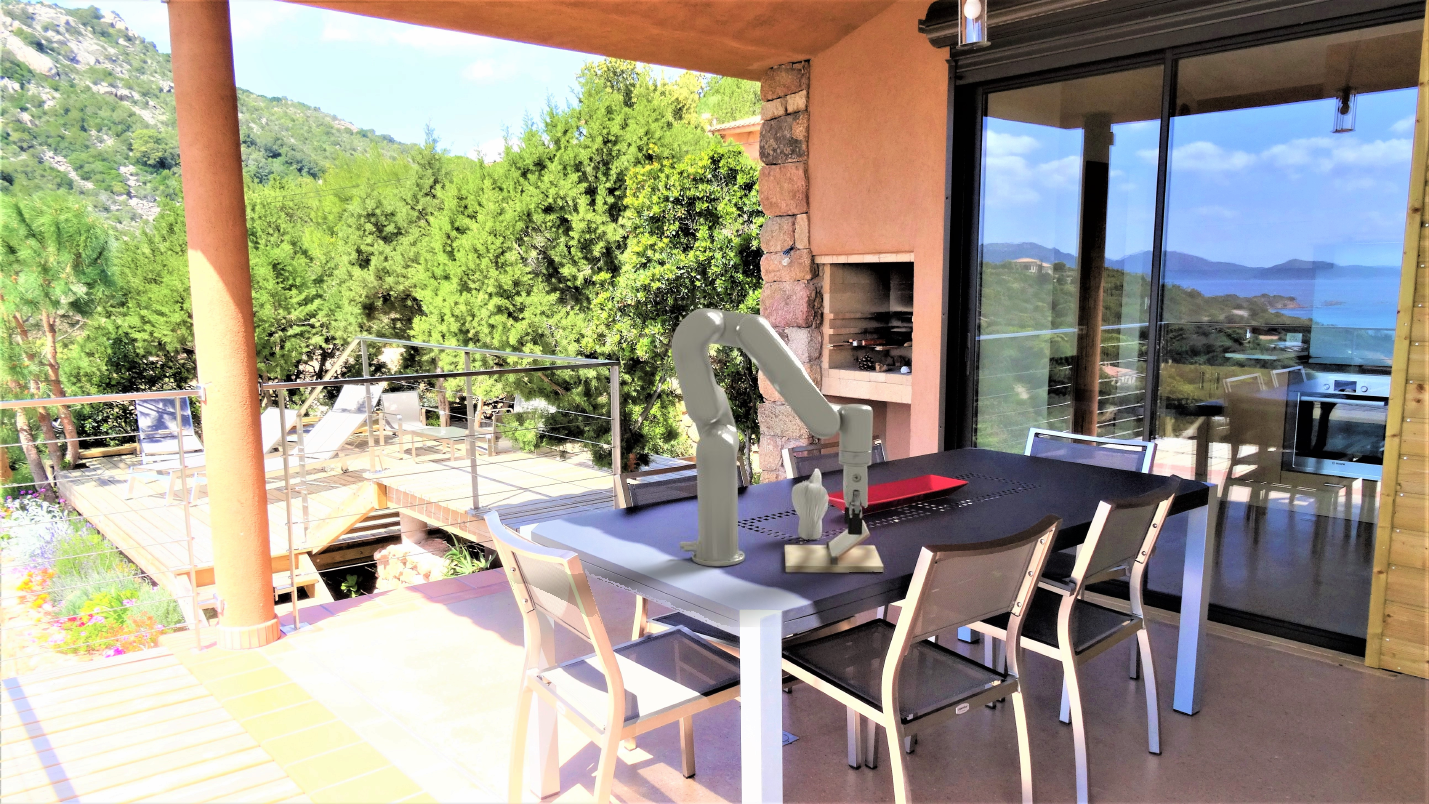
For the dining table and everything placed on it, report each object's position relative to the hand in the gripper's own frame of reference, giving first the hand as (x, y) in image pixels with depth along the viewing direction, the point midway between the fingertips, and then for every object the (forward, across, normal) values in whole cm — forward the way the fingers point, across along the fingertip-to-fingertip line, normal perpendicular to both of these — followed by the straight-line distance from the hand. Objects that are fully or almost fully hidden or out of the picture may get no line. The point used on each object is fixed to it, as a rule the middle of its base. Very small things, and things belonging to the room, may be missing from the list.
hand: (852, 528), depth 203 cm
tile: (+2, 0, +2) cm, 3 cm away
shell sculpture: (+8, +20, +9) cm, 23 cm away
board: (+8, 0, +5) cm, 9 cm away
